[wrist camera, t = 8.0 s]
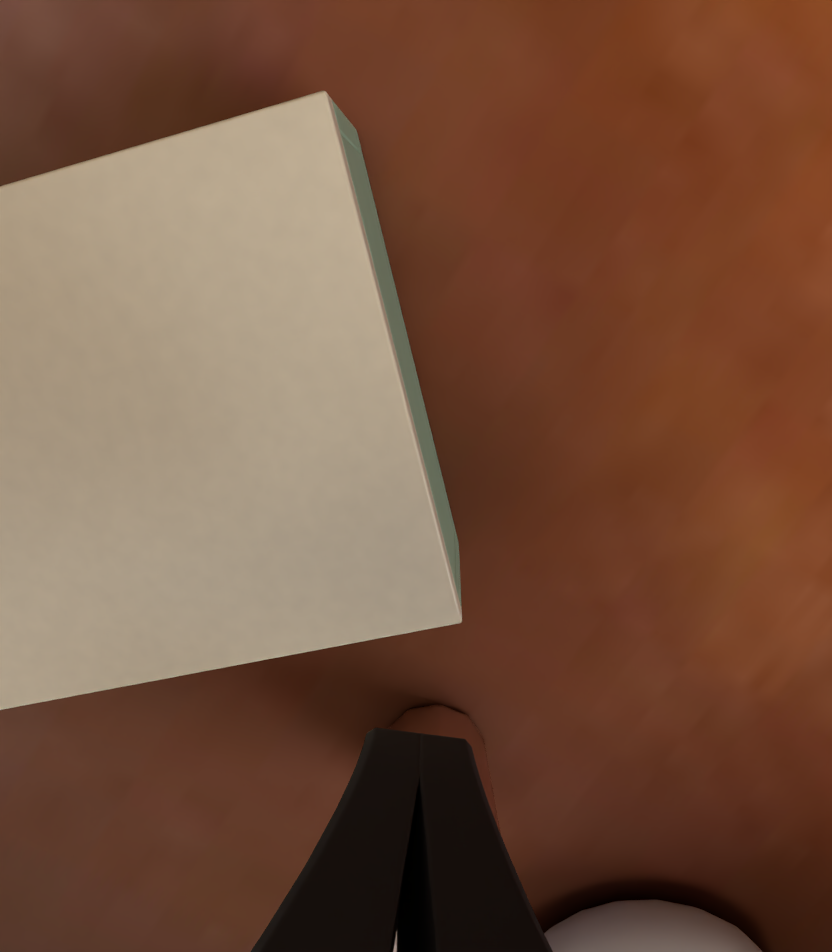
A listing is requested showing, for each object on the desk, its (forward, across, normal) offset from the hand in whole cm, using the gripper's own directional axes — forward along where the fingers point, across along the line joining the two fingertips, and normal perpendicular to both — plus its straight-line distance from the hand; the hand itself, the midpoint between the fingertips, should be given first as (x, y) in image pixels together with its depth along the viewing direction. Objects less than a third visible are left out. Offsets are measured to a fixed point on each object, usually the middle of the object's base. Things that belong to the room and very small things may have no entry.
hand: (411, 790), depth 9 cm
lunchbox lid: (+7, +7, -2) cm, 10 cm away
